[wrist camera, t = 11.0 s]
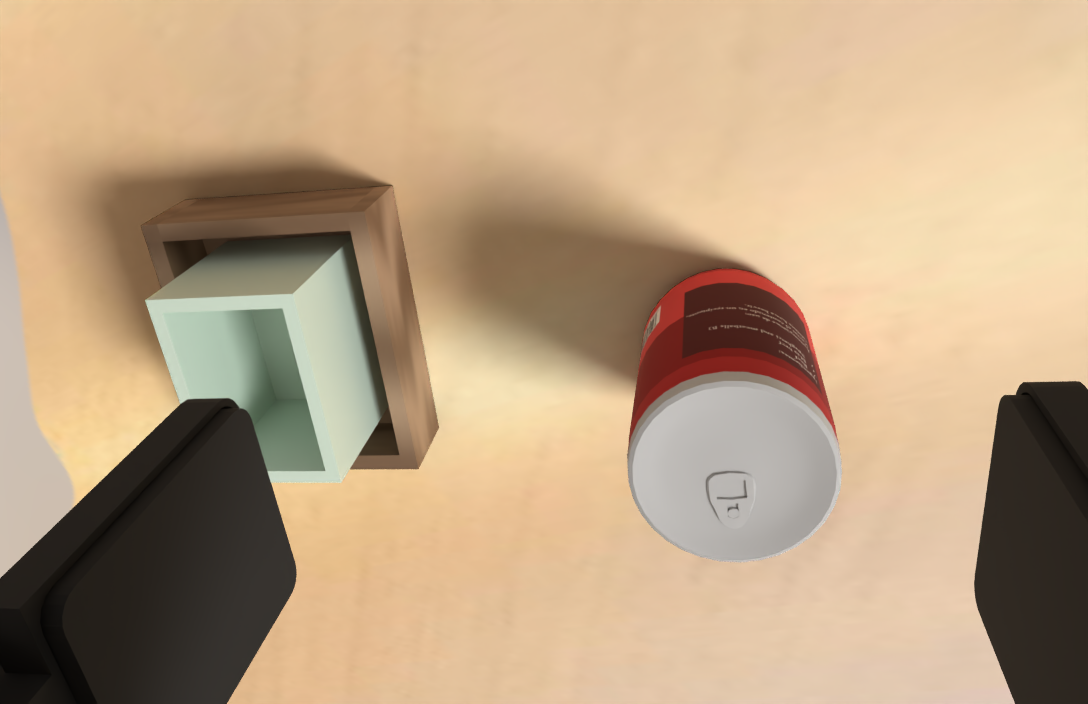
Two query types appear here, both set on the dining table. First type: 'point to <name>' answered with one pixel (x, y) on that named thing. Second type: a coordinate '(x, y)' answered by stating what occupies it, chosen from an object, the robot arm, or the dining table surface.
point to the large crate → (383, 275)
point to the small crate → (279, 348)
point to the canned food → (731, 421)
